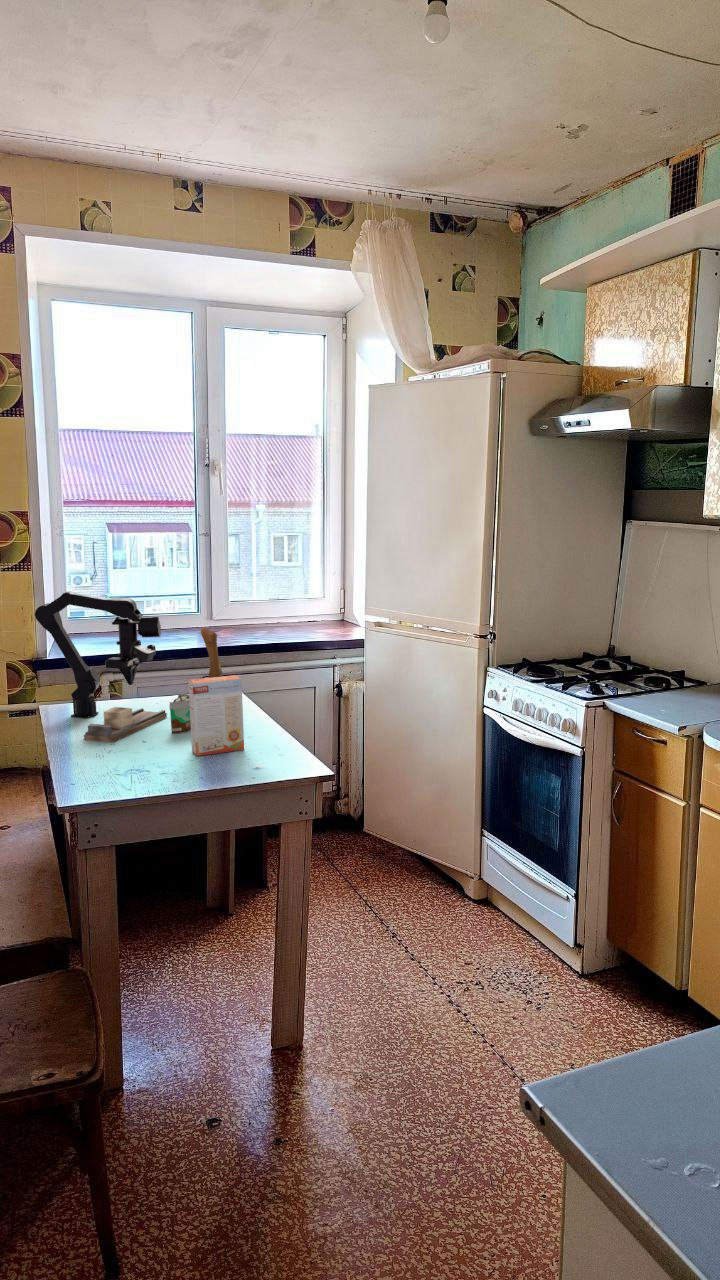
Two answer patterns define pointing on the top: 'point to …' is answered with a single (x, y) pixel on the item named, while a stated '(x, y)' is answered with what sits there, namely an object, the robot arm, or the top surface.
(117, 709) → the slider block
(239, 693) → the cracker box
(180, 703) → the food container
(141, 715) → the slider track
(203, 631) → the tan tall curved piece
